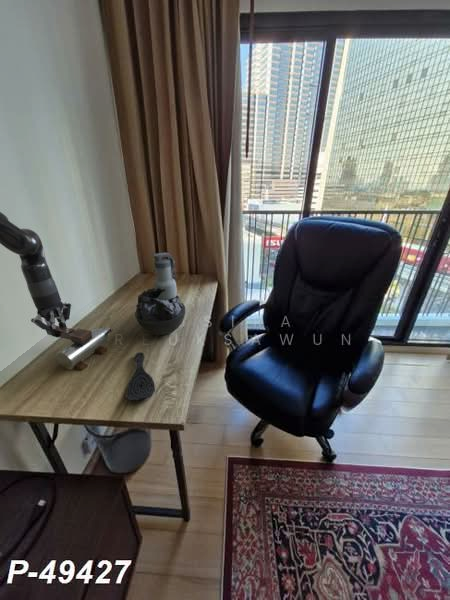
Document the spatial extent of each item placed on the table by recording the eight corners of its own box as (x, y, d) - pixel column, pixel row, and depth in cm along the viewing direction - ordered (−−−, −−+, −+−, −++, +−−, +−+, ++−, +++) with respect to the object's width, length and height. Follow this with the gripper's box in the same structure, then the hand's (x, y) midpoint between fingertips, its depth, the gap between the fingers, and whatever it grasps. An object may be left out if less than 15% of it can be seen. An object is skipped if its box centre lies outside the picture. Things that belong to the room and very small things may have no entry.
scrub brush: (44, 336, 91) (41, 329, 90) (55, 329, 95) (53, 322, 94) (83, 345, 85) (80, 337, 83) (93, 338, 88) (91, 330, 87)
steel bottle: (77, 374, 84) (70, 355, 80) (60, 368, 86) (52, 350, 83) (119, 340, 100) (115, 323, 97) (103, 337, 103) (99, 320, 99)
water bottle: (174, 303, 129) (168, 249, 117) (182, 310, 122) (176, 254, 109) (155, 308, 124) (146, 253, 112) (162, 316, 117) (153, 258, 104)
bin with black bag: (157, 315, 118) (150, 278, 109) (195, 322, 112) (192, 283, 103) (128, 339, 101) (119, 298, 93) (172, 349, 95) (165, 305, 86)
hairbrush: (150, 345, 93) (154, 392, 71) (151, 353, 94) (156, 402, 72) (126, 350, 90) (123, 400, 69) (128, 358, 92) (126, 410, 70)
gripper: (55, 282, 90) (69, 323, 98) (14, 298, 79) (34, 343, 87) (70, 284, 88) (84, 326, 96) (30, 302, 76) (50, 347, 84)
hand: (60, 334), depth 91 cm, fingers closed on scrub brush, 2 cm apart
